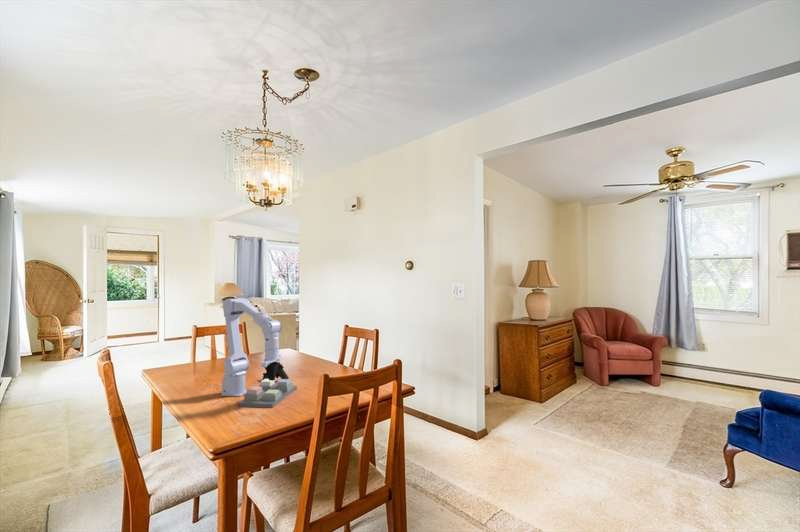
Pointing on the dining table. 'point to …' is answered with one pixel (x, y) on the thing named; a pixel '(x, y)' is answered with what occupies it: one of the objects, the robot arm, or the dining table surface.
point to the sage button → (271, 392)
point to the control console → (267, 396)
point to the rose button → (254, 390)
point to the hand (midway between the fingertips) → (271, 379)
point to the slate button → (284, 382)
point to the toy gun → (279, 373)
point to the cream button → (267, 382)
